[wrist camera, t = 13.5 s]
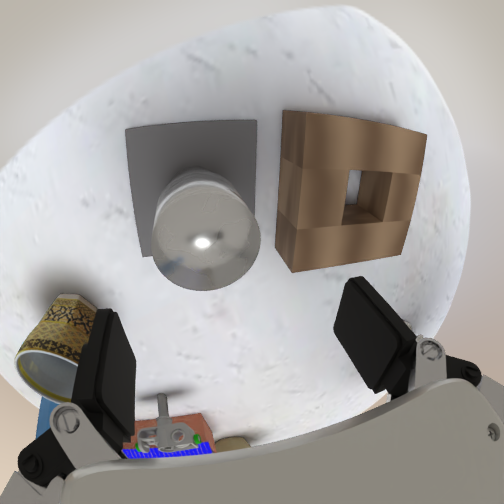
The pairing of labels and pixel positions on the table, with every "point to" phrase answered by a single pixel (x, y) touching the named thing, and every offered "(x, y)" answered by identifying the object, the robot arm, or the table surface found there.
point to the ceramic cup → (56, 348)
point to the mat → (187, 162)
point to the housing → (344, 189)
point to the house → (194, 423)
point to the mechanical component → (166, 433)
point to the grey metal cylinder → (203, 231)
